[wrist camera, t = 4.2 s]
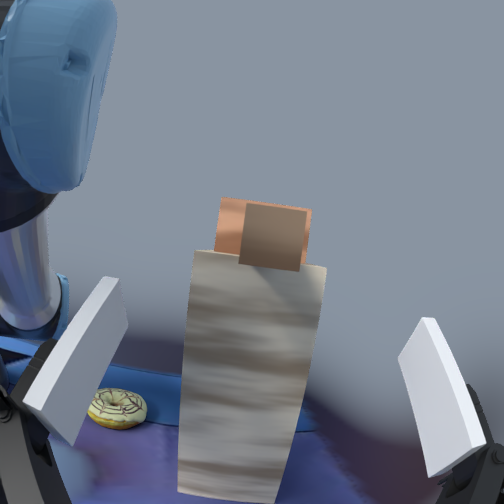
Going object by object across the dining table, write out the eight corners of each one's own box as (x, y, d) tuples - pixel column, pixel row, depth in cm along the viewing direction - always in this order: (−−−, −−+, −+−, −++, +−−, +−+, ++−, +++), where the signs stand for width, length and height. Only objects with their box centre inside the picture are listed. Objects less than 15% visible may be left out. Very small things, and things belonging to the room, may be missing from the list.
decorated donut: (156, 429, 41) (156, 411, 41) (94, 436, 34) (92, 417, 34) (135, 398, 49) (135, 382, 49) (82, 402, 42) (80, 384, 42)
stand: (274, 503, 27) (327, 268, 27) (177, 491, 27) (194, 250, 27) (270, 459, 37) (307, 263, 37) (190, 449, 37) (210, 249, 37)
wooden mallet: (364, 280, 15) (375, 167, 15) (168, 254, 15) (187, 139, 15) (299, 262, 37) (305, 213, 37) (218, 251, 37) (224, 202, 37)
